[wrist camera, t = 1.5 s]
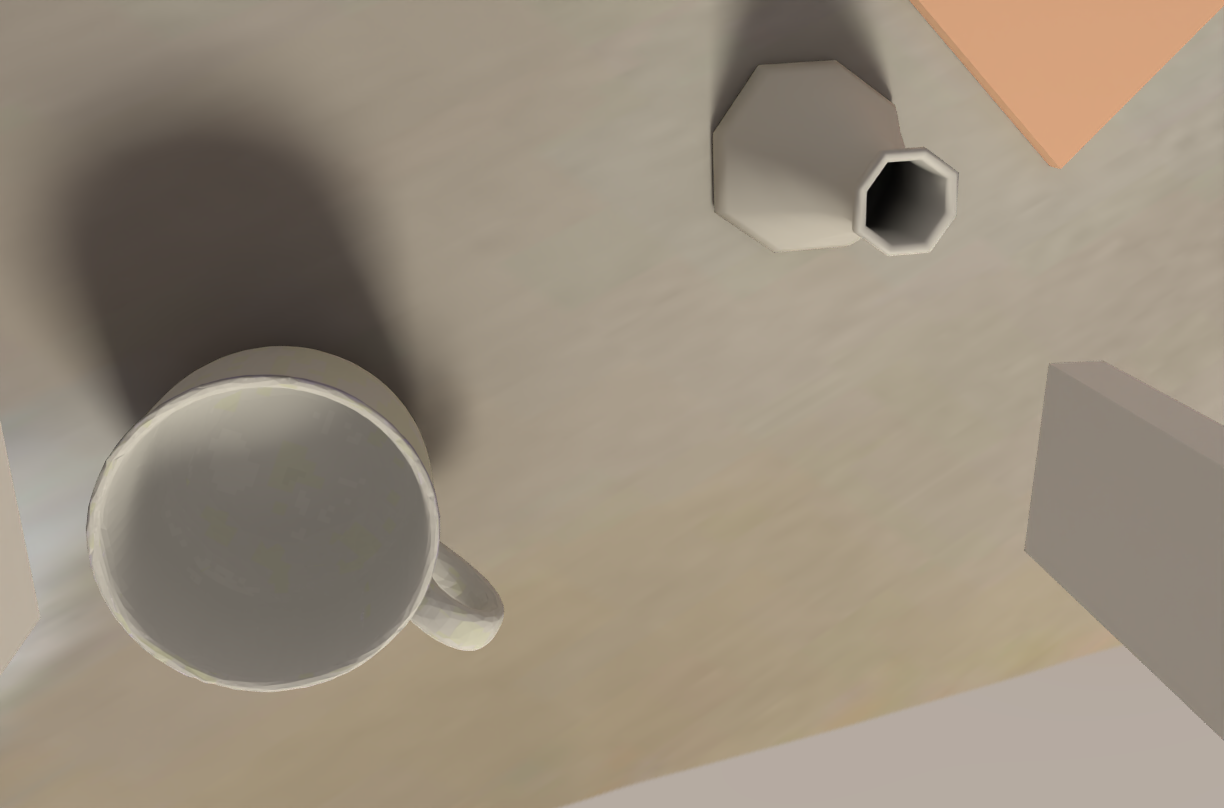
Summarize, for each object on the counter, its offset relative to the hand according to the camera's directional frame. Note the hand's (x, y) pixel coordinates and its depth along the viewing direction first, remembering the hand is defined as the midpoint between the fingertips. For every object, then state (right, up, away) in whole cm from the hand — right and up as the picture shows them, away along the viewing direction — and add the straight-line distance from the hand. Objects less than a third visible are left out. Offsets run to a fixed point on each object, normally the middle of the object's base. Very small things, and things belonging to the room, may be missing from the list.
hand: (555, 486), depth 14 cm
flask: (+8, +10, +27) cm, 30 cm away
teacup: (-10, -2, +29) cm, 31 cm away
